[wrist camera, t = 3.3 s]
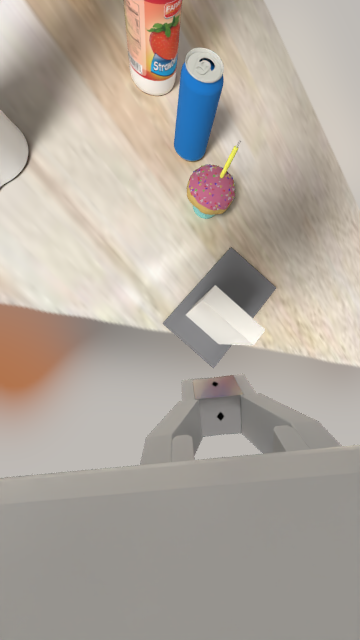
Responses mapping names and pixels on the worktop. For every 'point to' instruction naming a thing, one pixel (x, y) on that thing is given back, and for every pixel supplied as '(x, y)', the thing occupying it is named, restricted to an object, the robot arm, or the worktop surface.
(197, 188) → the cupcake
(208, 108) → the beverage can
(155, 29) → the fruit juice
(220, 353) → the mat
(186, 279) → the worktop surface
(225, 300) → the tile
